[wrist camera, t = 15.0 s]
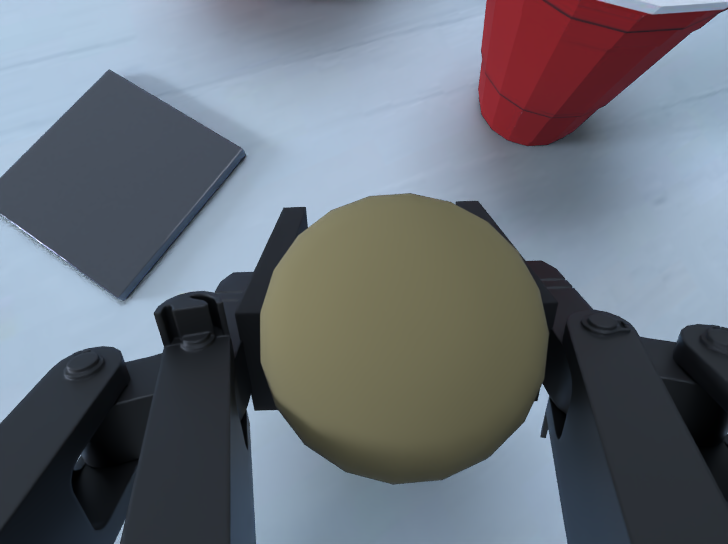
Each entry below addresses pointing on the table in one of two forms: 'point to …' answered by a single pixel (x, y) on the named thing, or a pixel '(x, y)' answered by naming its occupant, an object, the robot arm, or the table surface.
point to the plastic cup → (572, 58)
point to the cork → (403, 338)
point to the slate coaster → (116, 182)
